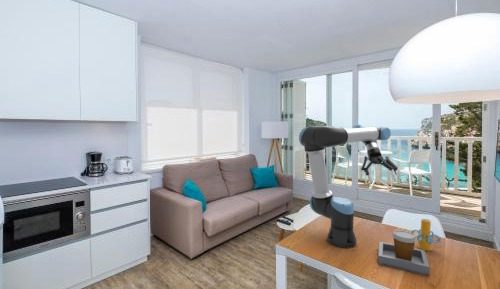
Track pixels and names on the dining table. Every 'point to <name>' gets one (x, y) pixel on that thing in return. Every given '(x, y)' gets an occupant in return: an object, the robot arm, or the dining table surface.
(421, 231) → the yellow post with rings
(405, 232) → the disposable coffee cup
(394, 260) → the grey tray
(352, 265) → the dining table surface
